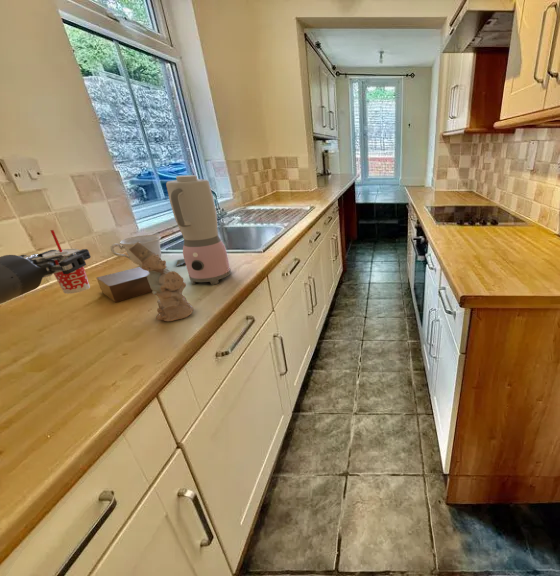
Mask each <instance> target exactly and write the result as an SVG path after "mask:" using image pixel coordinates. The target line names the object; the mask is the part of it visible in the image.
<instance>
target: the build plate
mask: <svg viewBox="0 0 560 576" xmlns="http://www.w3.org/2000/svg"><path fill="white" fill-rule="evenodd" d="M176 261H177V262H176V267H183V266H186V263H185V260H184V258H182V259H177V260H176Z"/></svg>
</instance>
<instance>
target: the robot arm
mask: <svg viewBox="0 0 560 576" xmlns="http://www.w3.org/2000/svg"><path fill="white" fill-rule="evenodd" d="M57 250H58V249H50V250H46V251H44V252H43V251H42V252H40V253H32V254H30V255H29V254H28V255H27V254H21V255H16V254H5V255H2V256H0V305H2V304H4V303H7V302H9V301H11V300H13V299H16V298H18V297H20V296H22V295H25V294H28V293H30V292H32V291H34V290H37V289H38V288H39V287H40V285H41V283H42V281H43V278H48V277H51V276H53V275H54V273H58V272H63V274H69V273H71V272H73V271H75V270H77V269H79V268H81V267H83V266H84V267H85V266H87V263H86V261H87V260H89V259H91V254H90V252H89V249H87V248H82V249H79V251H77V252H74V253H70V254H67V255H63V256H62V255H59V254H56V255H52V256H47V257H43V256H42V255H43V254H45V253H48V252H52V251H57ZM66 258H67V259H66ZM53 259H57V261H58V263H59V265H56V263H55V261H54V260H53Z"/></svg>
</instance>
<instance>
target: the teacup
mask: <svg viewBox="0 0 560 576" xmlns="http://www.w3.org/2000/svg"><path fill="white" fill-rule="evenodd" d="M161 238H162V237H161V236H160V235H157V234H145V235H144V234H143V235H137V236H136V235H135V236H132V237H127V238H123V239H121V240H120V241H119V243H117V242H116V243H112V244H111V245H110V249H109V250H110V252H111V253H112V254H113V255H115V256H117V257H122V258H127V259H128V260H130V261H131V262H132V263H133V264H135V265H138V266H139V267H141V268H142V262H141V261H140V260H139V259H138V258H137V257H136V256H135V255H134V254H133V253H132V252H131V251H130V250H129V249H130V248H131V247H132V246H133V245H134V244H135V243H137V242H140V243H141V244H142V245H144V246H145V247H146V248H147V249H149V250H150V251H152V252H153V253H155V254H158V255H159V257H160V258H161V259H162V249H161V242H160V241H161ZM121 245H122V246H121ZM116 247H118V248H119V249H120V250H123V249H124V250H125V251H126V254H124V253H118V252H116V251H115V248H116Z"/></svg>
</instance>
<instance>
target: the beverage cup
mask: <svg viewBox="0 0 560 576" xmlns="http://www.w3.org/2000/svg"><path fill="white" fill-rule="evenodd" d="M50 233H51V235H52V237H53V240H54V242H55V245H56V247H57V249H56V250H57V251H52V252H48V253H45V254H43V255H42V256H43V257H47V256H52V255H56V254H59V255H62V256H63V255H67V254H70V253H74V252H77V251H79V250H80V249H79V248H63V249H62V247H61V245H60V242H59V240H58V237H57V236H56V232H55V230H54V229H50ZM66 259H67V258H66ZM53 260H54V261H55V263H56V265H59V263H58V261H57V259H53ZM53 276H54V277H55V279H56V281H57V282H58V285H59V287H60V288H61V290H62V292H63V293H64V294H68V295H69V294H77V293H81V292H85V291H88V290H89V289H90V288H91V284H90V282H89V278H88V276H87V273H86V270H85V266H83V267H81V268H79V269H77V270H75V271H73V272H71V273H69V274H63V272H58V273H54V274H53Z"/></svg>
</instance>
